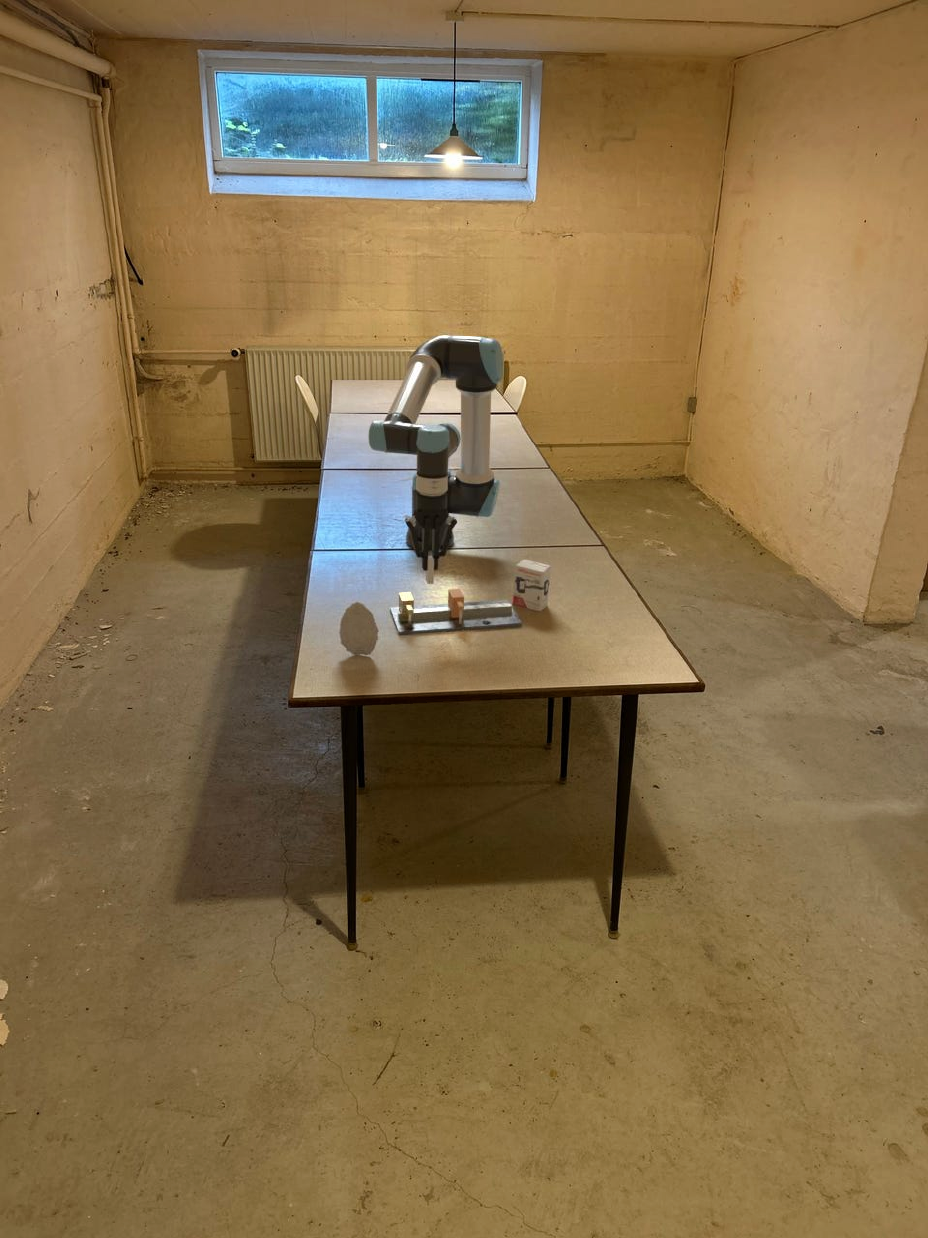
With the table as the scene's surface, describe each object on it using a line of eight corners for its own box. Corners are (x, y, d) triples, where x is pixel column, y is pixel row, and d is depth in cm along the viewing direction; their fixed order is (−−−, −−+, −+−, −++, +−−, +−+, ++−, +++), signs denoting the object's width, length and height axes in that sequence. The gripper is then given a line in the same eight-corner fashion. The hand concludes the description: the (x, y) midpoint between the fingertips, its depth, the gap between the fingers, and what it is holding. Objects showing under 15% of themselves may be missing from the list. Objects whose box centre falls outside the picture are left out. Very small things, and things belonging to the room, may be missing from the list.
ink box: (512, 604, 230) (514, 564, 225) (520, 597, 234) (523, 558, 229) (540, 612, 227) (544, 571, 221) (548, 605, 231) (551, 565, 225)
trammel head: (447, 610, 223) (448, 589, 220) (458, 609, 223) (459, 588, 220) (455, 625, 215) (455, 603, 212) (466, 624, 216) (467, 603, 213)
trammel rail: (396, 614, 220) (396, 592, 217) (508, 607, 226) (509, 585, 224) (402, 630, 212) (402, 607, 209) (517, 621, 219) (519, 599, 216)
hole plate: (390, 610, 224) (390, 607, 223) (506, 603, 231) (507, 599, 230) (399, 635, 212) (399, 631, 211) (521, 626, 219) (521, 622, 218)
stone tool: (379, 653, 203) (378, 596, 196) (378, 659, 200) (378, 602, 194) (340, 653, 203) (338, 596, 196) (339, 659, 200) (337, 602, 193)
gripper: (407, 497, 199) (406, 589, 210) (461, 495, 202) (457, 586, 213) (402, 487, 206) (401, 577, 216) (454, 486, 209) (451, 574, 219)
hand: (429, 581), depth 214 cm, fingers closed
